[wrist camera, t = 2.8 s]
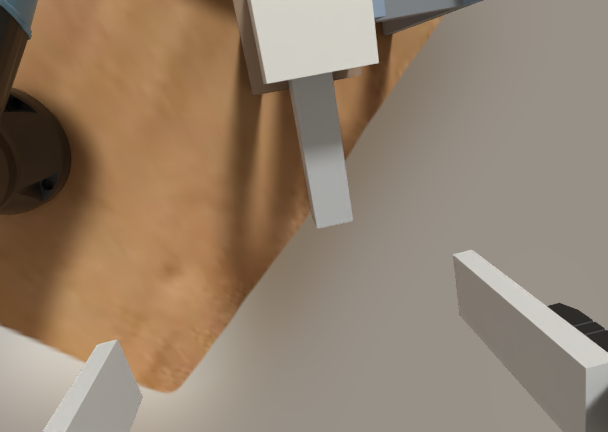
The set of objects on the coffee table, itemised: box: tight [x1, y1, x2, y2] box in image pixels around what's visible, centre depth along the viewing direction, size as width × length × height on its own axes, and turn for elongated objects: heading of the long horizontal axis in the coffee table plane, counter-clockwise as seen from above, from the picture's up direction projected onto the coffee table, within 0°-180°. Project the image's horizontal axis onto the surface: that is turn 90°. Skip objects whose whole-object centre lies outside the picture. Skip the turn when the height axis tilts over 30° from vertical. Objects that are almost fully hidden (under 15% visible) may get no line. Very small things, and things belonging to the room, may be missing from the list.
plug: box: [247, 0, 379, 228], centre depth 21 cm, size 5×14×6 cm, turn 10°
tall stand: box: [233, 0, 362, 95], centre depth 35 cm, size 6×7×28 cm
